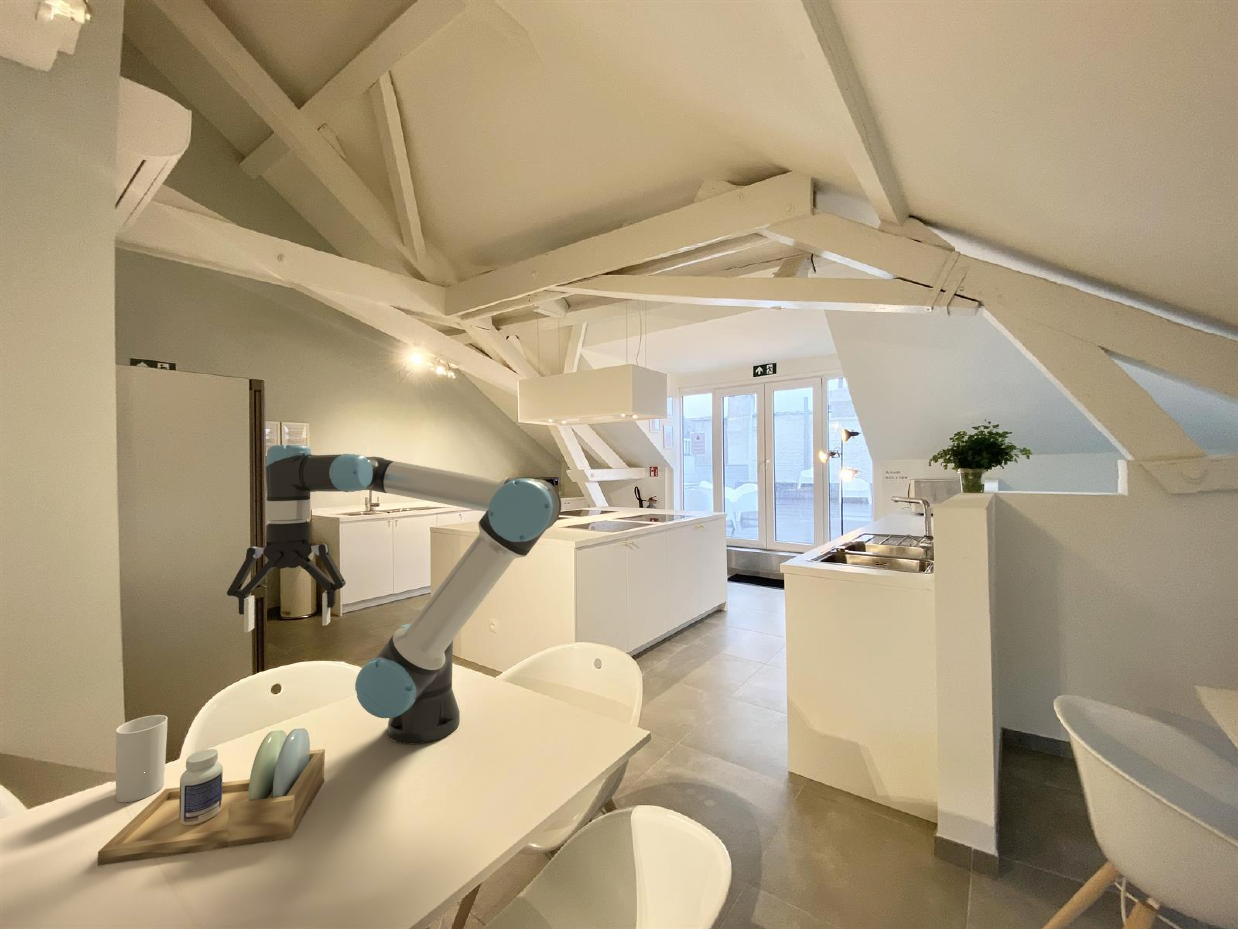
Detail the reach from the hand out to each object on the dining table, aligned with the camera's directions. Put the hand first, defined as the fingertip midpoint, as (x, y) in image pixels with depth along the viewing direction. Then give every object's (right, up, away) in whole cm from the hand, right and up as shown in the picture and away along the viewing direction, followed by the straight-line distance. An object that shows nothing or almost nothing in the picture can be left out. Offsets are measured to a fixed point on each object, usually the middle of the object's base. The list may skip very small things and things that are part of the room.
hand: (288, 627), depth 101 cm
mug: (-19, -26, -10) cm, 34 cm away
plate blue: (+11, -26, -16) cm, 32 cm away
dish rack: (+2, -26, -18) cm, 32 cm away
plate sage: (+8, -26, -17) cm, 32 cm away
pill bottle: (-2, -25, -19) cm, 31 cm away
